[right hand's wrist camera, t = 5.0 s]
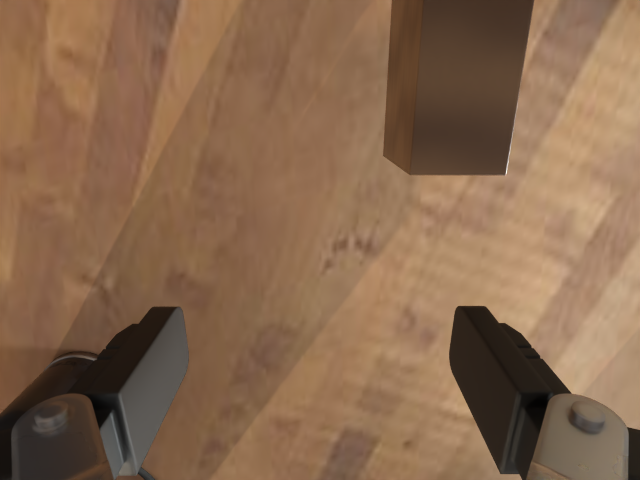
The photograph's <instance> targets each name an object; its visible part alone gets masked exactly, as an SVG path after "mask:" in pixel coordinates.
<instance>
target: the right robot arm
mask: <svg viewBox="0 0 640 480" xmlns="http://www.w3.org/2000/svg"><path fill="white" fill-rule="evenodd" d="M449 360H450V366H451V370H452V373H453V375H454V377H455V379H456V382H457V384H458V386H459V388H460V390H461V392H462V394H463V396H464V398H465V400H466V403H467V405H468V407H469V409H470V411H471V413H472V415H473V417H474V419H475V421H476V423H477V426H478V428H479V430H480V432H481V434H482V436H483V438H484V440H485V442H486V444H487V447H488V449H489V451H490V453H491V455H492V457H493V459H494V461H495V463H496V465H497V467H498V470H499V472H500V474H520V476H521V478H522V480H640V430H637V429H633V428H628V427H626V425H625V423H624V422H623V420H622V419H621V418H620V417H619V416H618V415H617V414H616V413H615V412H613V411H612V410H611V409H609V408H608V407H606V406H605V405H603V404H601V403H599V402H597V401H595V400H593V399H590V398H587V397H584V396H581V395H576V394H572V393H571V392H570V391H569V390H568V389H567V387H566V386H565V385H564V384H563V383H562V381H561V380H560V379H559V378H558V377H557V376H556V374H555V373H554V372H553V371H552V370H551V368H550V367H549V366H548V365H547V364H546V363H545V361H544V360H543V359H540V355H539V354H538V353H537V352H536V351H535V350H534V348H531V345H530V344H529V342H528V341H527V340H526V339H525V338H524V336H523V335H522V334H521V333H519V332H518V331H516V330H515V329H513V328H512V327H510V326H509V325H507V324H505V323H498V321H497V320H496V319H495V317H494V316H493V315H492V314H491V312H490V311H489V310H488V309H487V308H486V307H485V306H458V307H457V308H456V310H455V315H454V322H453V329H452V336H451V343H450V351H449ZM188 361H189V351H188V344H187V337H186V330H185V323H184V316H183V311H182V309H181V308H180V307H152V308H151V309H150V310H149V311H148V313H147V314H146V315H145V316H144V318H143V319H142V320H141V321H140V323H139V324H132V325H130V326H129V327H127V328H126V329H124V330H122V331H121V332H119V333H118V334H116V335H115V337H114V338H113V339H112V340H111V341H110V343H109V344H108V345H107V346H106V349H104V350H103V351H102V352H101V353H100V354H99V355H96V354H93V353H88V352H71V353H66V354H63V355H61V356H59V357H58V358H56V359H55V360H54V361H52V362H51V363H50V364H49V365H48V366H47V367H46V369H45V370H44V371H43V373H42V374H41V375H40V376H39V377H37V378H36V379H35V380H34V381H33V382H32V383H31V384H30V385H29V386H28V387H27V388H26V389H25V390H24V391H23V392H22V393H21V394H20V395H19V396H18V397H17V398H16V399H15V400H14V401H13V402H12V403H11V404H10V405H9V406H8V407H7V408H6V409H5V410H4V411H2V412H1V413H0V480H115V479H116V477H117V476H136V475H137V473H138V474H139V475H140V476H142V477H143V478H144V479H145V480H155V479H154V478H153V477H152V476H151V475H150V474H149V473H148V472H146V471H145V470H144V469H143V468H141V465H142V463H143V461H144V459H145V457H146V455H147V453H148V451H149V448H150V446H151V444H152V442H153V440H154V438H155V436H156V434H157V432H158V430H159V428H160V426H161V424H162V422H163V419H164V417H165V415H166V413H167V411H168V409H169V407H170V405H171V403H172V401H173V399H174V397H175V395H176V393H177V391H178V388H179V386H180V384H181V382H182V380H183V378H184V376H185V374H186V371H187V367H188Z"/></svg>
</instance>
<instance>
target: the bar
mask: <svg viewBox="0 0 640 480" xmlns="http://www.w3.org/2000/svg"><path fill="white" fill-rule="evenodd" d="M533 5H534V0H392V9H391V26H390V44H389V62H388V79H387V97H386V115H385V132H384V150H383V156H384V157H386V158H387V159H388V160H390V161H391V162H393V163H394V164H395V165H397V166H398V167H399V168H401V169H402V170H404V171H405V172H406V173H408V174H409V175H499V176H505V175H506V172H507V166H508V160H509V154H510V148H511V141H512V135H513V129H514V123H515V117H516V110H517V104H518V98H519V92H520V85H521V79H522V73H523V67H524V61H525V54H526V48H527V42H528V36H529V29H530V23H531V17H532V11H533Z"/></svg>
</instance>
